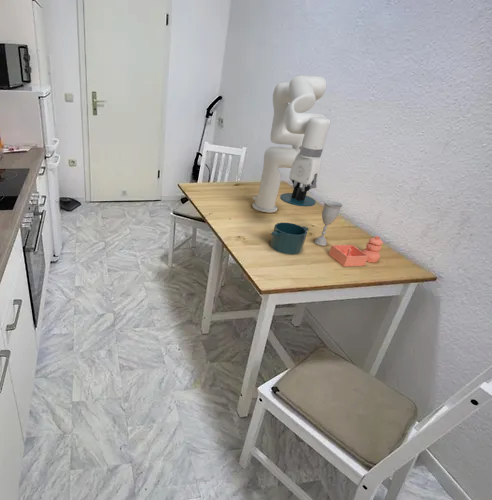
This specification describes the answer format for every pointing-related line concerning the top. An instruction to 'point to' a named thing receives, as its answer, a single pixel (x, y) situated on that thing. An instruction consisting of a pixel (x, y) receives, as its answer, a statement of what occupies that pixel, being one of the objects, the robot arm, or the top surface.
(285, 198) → the lid
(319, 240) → the chalice
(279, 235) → the pot
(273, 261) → the top surface
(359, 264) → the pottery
